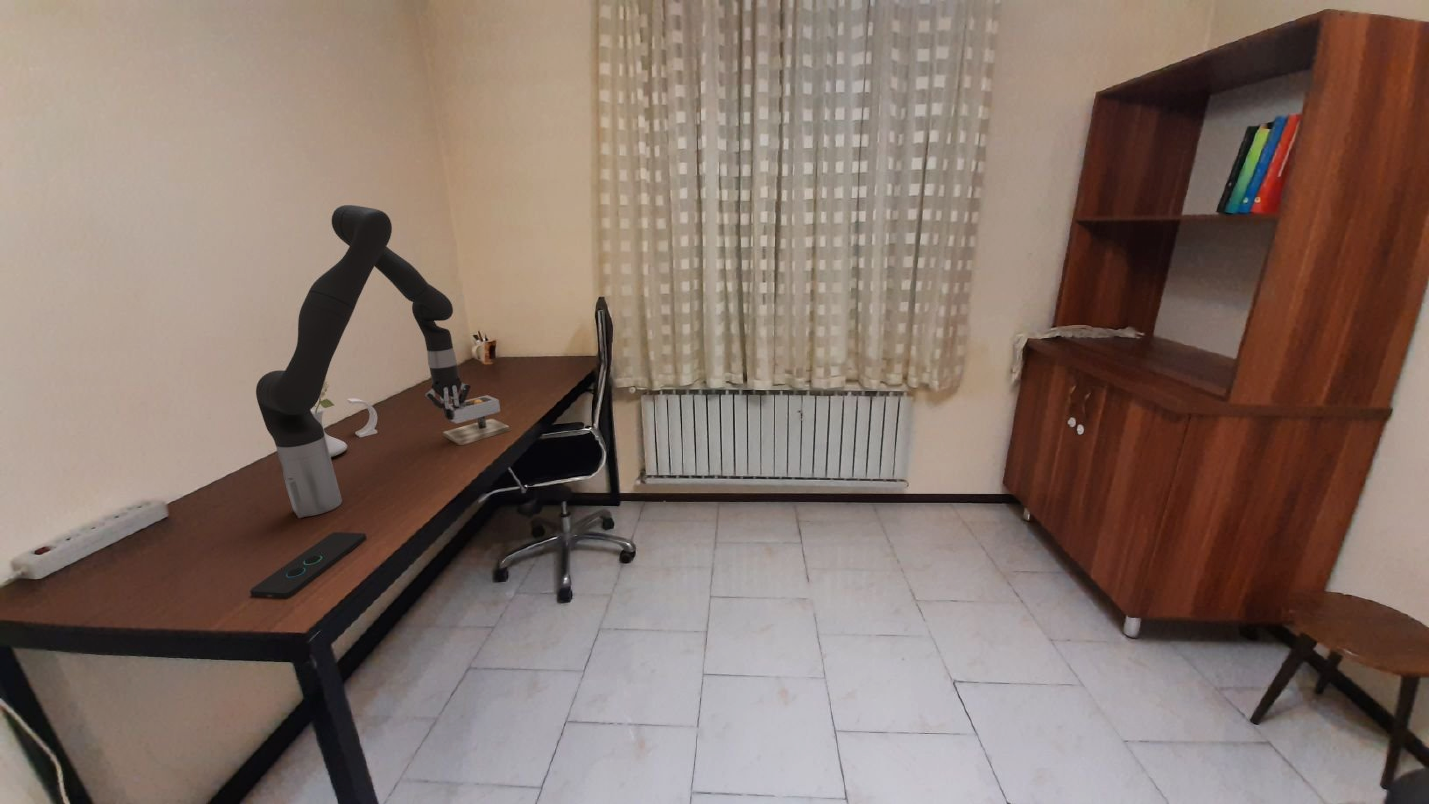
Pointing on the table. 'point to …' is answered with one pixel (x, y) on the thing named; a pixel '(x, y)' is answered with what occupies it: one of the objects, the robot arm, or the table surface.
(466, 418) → the steel link
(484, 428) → the beige plate with rod
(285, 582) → the smart home device
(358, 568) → the table surface
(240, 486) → the table surface
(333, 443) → the flower in vase
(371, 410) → the headphone stand
